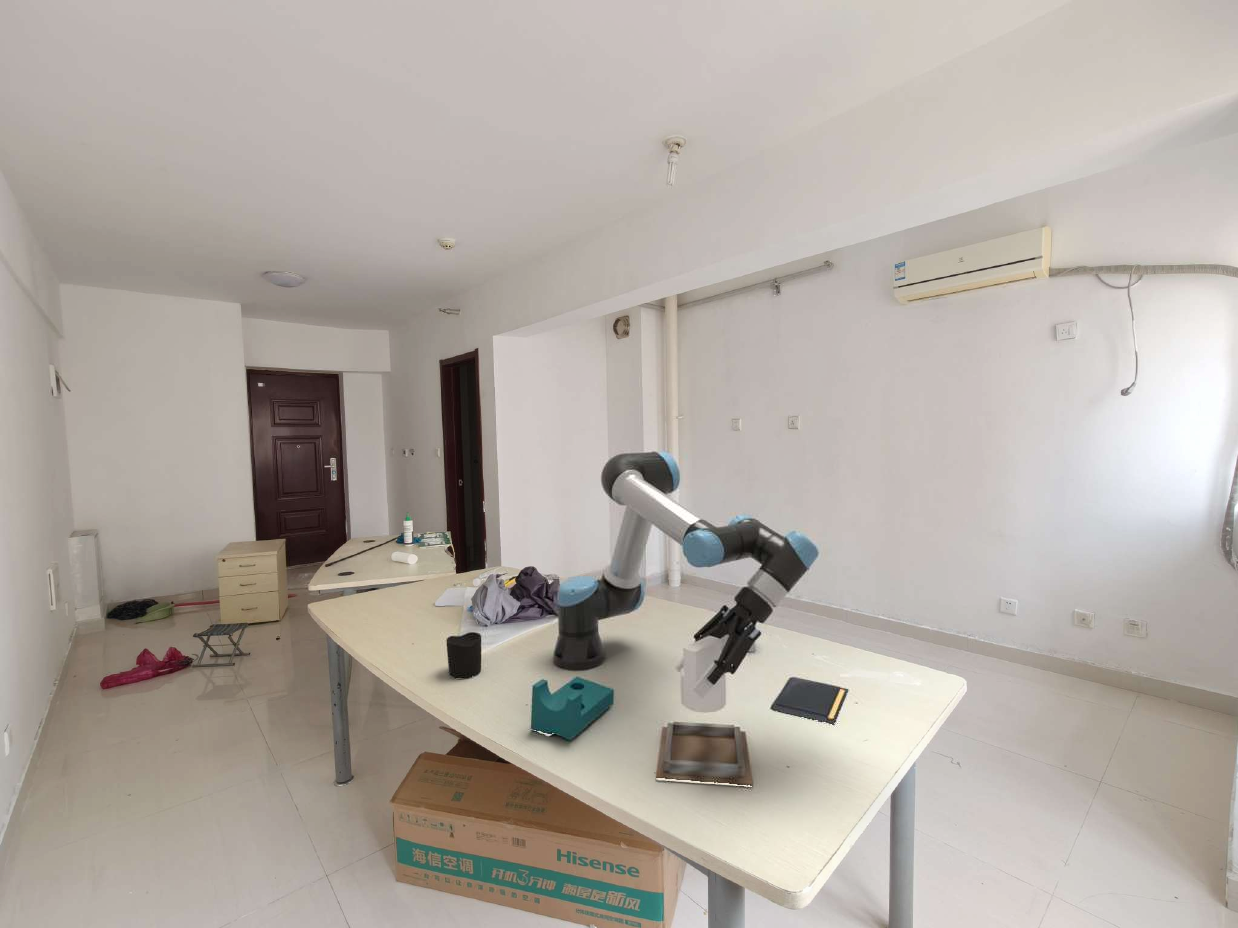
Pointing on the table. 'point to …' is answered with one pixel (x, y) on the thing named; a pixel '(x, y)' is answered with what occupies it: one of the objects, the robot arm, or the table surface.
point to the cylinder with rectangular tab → (695, 666)
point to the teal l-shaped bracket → (568, 706)
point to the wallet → (810, 700)
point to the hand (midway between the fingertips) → (688, 682)
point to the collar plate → (704, 753)
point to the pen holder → (464, 655)
